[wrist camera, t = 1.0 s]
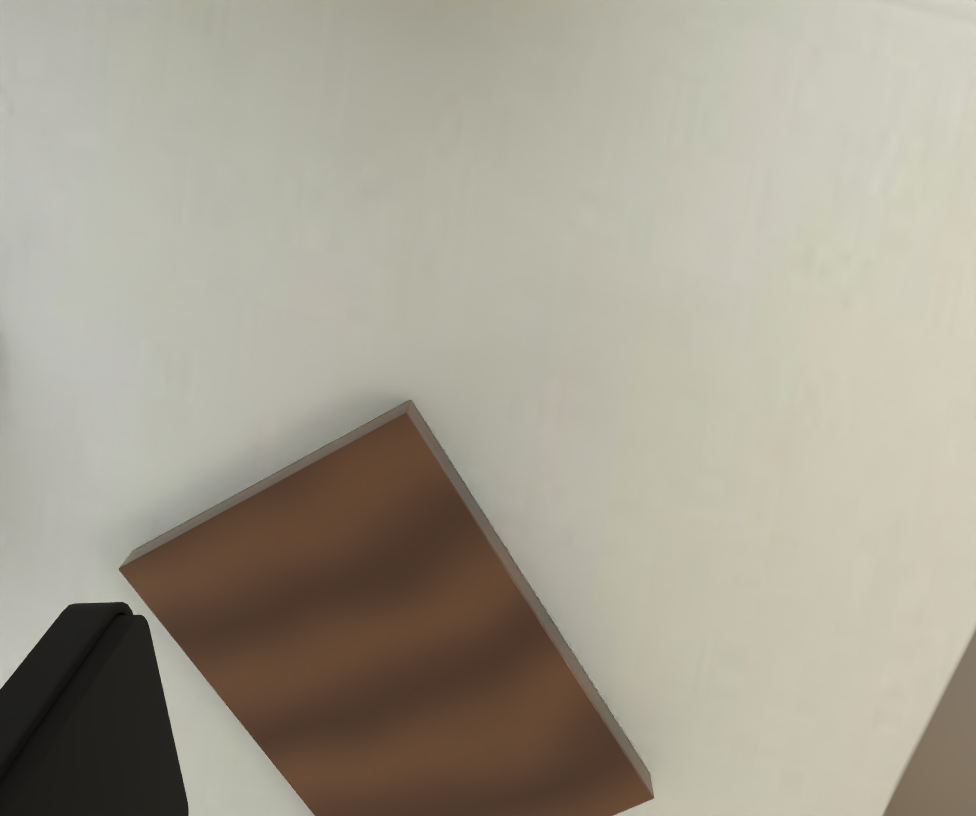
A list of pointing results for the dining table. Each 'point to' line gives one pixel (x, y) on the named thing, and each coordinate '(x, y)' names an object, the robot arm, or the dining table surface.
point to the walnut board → (387, 640)
